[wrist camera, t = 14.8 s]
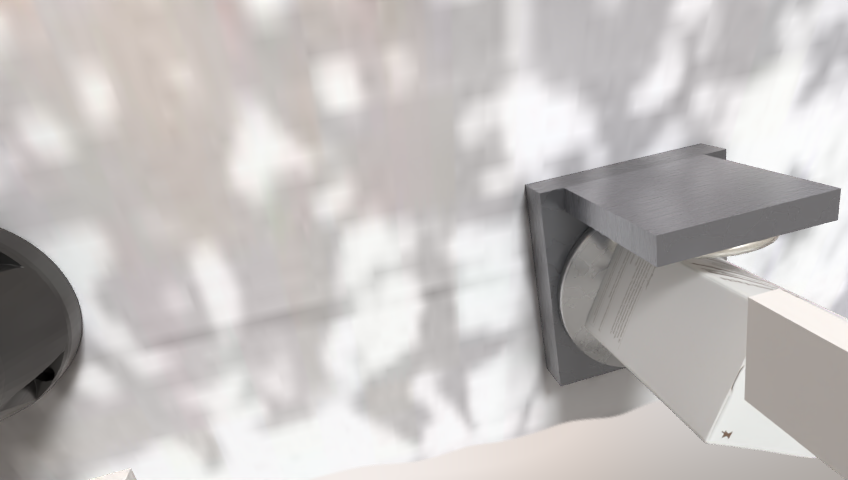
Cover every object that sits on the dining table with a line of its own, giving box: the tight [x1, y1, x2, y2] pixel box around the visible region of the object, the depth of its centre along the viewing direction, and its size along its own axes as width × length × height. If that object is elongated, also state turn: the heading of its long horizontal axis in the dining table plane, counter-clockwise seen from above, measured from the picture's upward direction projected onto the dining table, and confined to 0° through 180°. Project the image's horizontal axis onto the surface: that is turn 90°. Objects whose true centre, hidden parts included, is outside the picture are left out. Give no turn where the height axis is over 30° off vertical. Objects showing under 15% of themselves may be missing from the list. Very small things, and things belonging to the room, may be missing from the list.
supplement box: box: [585, 244, 848, 458], centre depth 38 cm, size 9×9×15 cm
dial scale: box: [525, 144, 841, 386], centre depth 41 cm, size 16×18×15 cm
